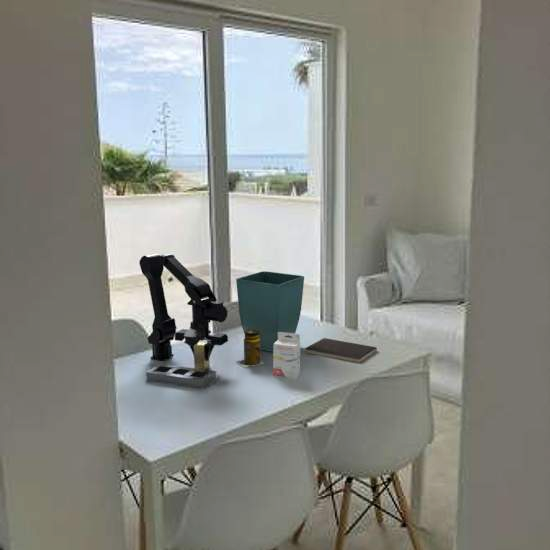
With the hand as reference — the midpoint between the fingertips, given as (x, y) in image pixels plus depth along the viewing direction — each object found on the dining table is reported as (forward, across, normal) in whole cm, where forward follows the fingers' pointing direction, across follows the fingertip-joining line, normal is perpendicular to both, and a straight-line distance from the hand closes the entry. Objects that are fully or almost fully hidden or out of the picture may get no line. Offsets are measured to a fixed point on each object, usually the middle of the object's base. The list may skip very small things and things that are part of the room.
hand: (201, 360), depth 212 cm
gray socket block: (+3, -1, -13) cm, 13 cm away
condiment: (+3, +14, +11) cm, 18 cm away
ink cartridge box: (+3, +31, +4) cm, 31 cm away
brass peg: (+3, 0, 0) cm, 3 cm away
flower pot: (+3, +14, +32) cm, 35 cm away
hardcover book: (+4, +42, +35) cm, 55 cm away
